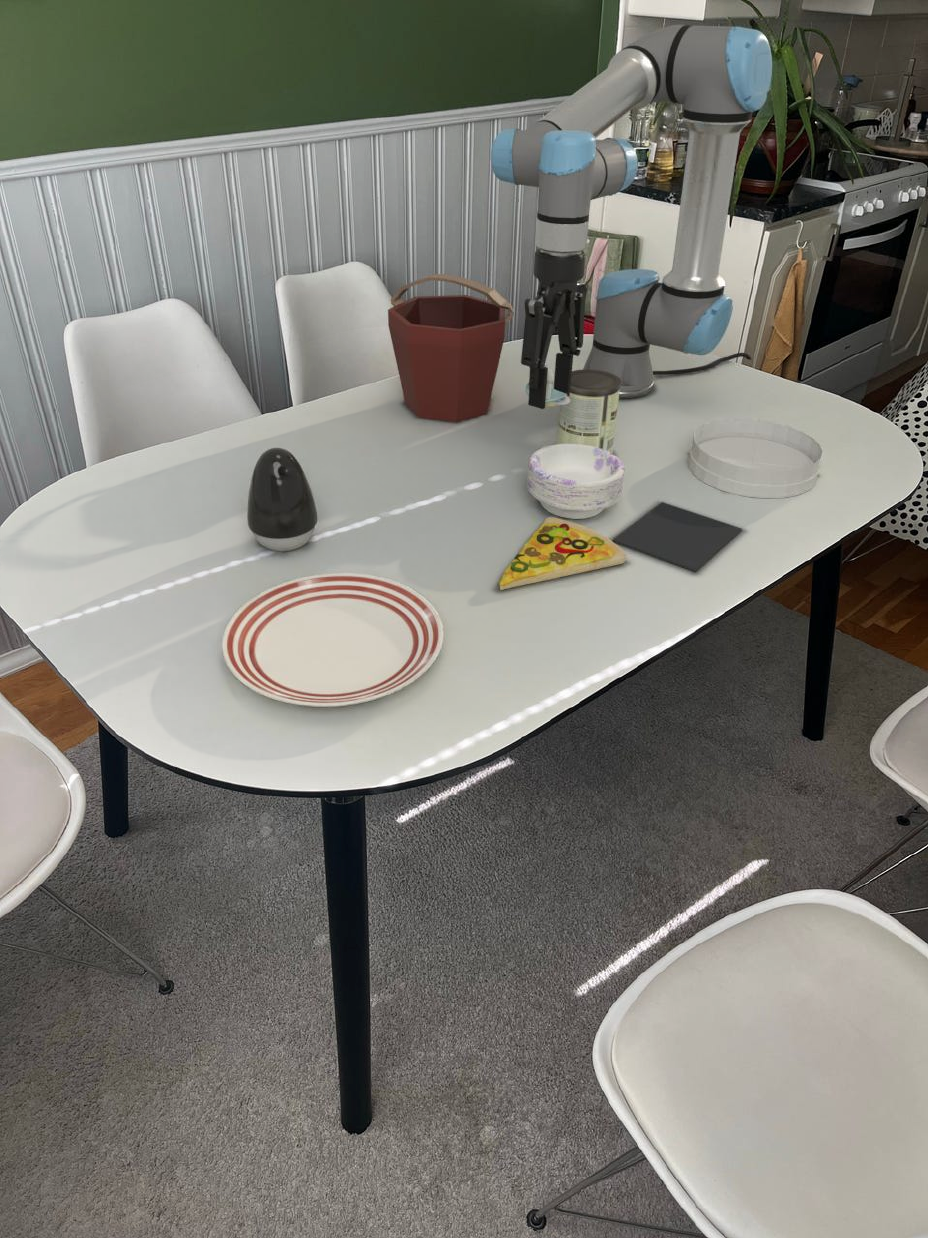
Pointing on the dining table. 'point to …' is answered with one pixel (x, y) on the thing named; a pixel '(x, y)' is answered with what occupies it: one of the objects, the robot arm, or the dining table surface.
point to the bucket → (448, 349)
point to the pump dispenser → (280, 502)
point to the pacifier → (552, 392)
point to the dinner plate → (332, 639)
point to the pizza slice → (560, 553)
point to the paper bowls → (575, 479)
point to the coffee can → (590, 410)
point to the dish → (755, 458)
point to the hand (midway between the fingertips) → (549, 399)
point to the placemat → (678, 536)
